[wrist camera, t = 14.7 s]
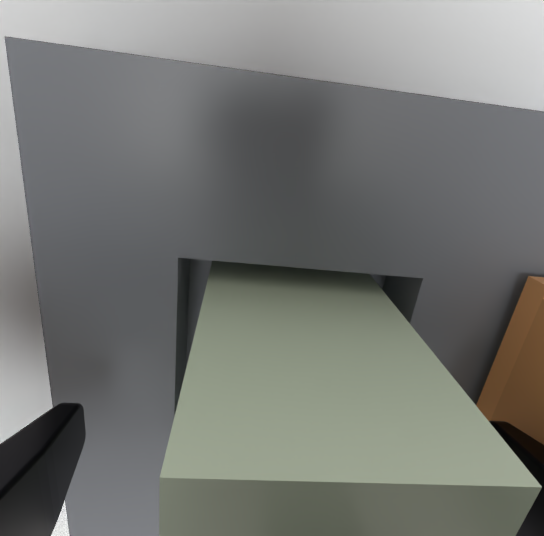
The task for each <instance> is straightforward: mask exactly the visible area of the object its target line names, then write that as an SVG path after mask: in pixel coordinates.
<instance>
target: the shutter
mask: <svg viewBox="0 0 544 536" xmlns="http://www.w3.org/2000/svg"><path fill="white" fill-rule="evenodd" d="M476 406H477V407H478V409H479V410H480V411H481V412H482V414H483V415H484V416H485V417H486V418H487V420H488V421H505V422H508V423H510V424H511V425H513V426H515V427H516V428H518V429H519V430H521V431H523V432H524V433H526V434H527V435H529V436H531V437H532V438H534V439H535V440H537V441H538V442H540V443H542V444H543V445H544V277H534V276H528V278H527V281H526V283H525V286H524V288H523V291H522V293H521V296H520V298H519V301H518V303H517V305H516V308H515V310H514V313H513V315H512V318H511V320H510V323H509V325H508V328H507V330H506V333H505V335H504V338H503V340H502V343H501V345H500V347H499V350H498V352H497V355H496V357H495V360H494V362H493V365H492V367H491V370H490V372H489V375H488V377H487V380H486V382H485V385H484V387H483V390H482V392H481V394H480V397H479V399H478V402H477V404H476Z"/></svg>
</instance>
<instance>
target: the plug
mask: <svg viewBox="0 0 544 536" xmlns="http://www.w3.org/2000/svg"><path fill="white" fill-rule="evenodd" d="M541 488H542V486H541V485H540V484H539V483H538V482H537V480H536V479H535V478H534V477H533V475H532V474H531V473H530V472H529V470H528V469H527V468H526V467H525V465H524V464H523V463H522V462H521V461H520V459H519V458H518V457H517V456H516V454H515V453H514V452H513V451H512V449H511V448H510V447H509V446H508V444H507V443H506V442H505V441H504V439H503V438H502V437H501V436H500V435H499V433H498V432H497V431H496V430H495V428H494V427H493V426H492V425H491V423H490V422H489V421H488V420H487V418H486V417H485V416H484V415H483V414H482V412H481V411H480V410H479V409H478V407H477V406H476V405H475V404H474V402H473V401H472V400H471V399H470V397H469V396H468V395H467V394H466V393H465V391H464V390H463V389H462V388H461V386H460V385H459V384H458V383H457V381H456V380H455V379H454V378H453V376H452V375H451V374H450V373H449V372H448V370H447V369H446V368H445V367H444V365H443V364H442V363H441V362H440V360H439V359H438V358H437V357H436V355H435V354H434V353H433V352H432V351H431V349H430V348H429V347H428V346H427V344H426V343H425V342H424V341H423V339H422V338H421V337H420V336H419V334H418V333H417V332H416V331H415V330H414V328H413V327H412V326H411V325H410V323H409V322H408V321H407V320H406V318H405V317H404V316H403V315H402V313H401V312H400V311H399V310H398V309H397V307H396V306H395V305H394V304H393V302H392V301H391V300H390V299H389V297H388V296H387V295H386V294H385V292H384V291H383V290H382V289H381V288H380V286H379V285H378V284H377V283H376V281H375V280H374V279H373V278H372V276H371V275H370V274H366V273H354V272H342V271H330V270H318V269H306V268H295V267H283V266H271V265H259V264H247V263H236V262H224V261H212V264H211V268H210V272H209V277H208V281H207V285H206V289H205V293H204V297H203V301H202V305H201V309H200V314H199V318H198V322H197V326H196V330H195V334H194V338H193V342H192V346H191V351H190V355H189V359H188V363H187V367H186V371H185V375H184V379H183V383H182V388H181V392H180V396H179V400H178V404H177V408H176V412H175V416H174V420H173V425H172V429H171V433H170V437H169V441H168V445H167V449H166V453H165V457H164V462H163V466H162V470H161V474H160V485H159V536H516V534H517V532H518V530H519V529H520V527H521V525H522V523H523V521H524V519H525V518H526V516H527V514H528V512H529V510H530V508H531V507H532V505H533V503H534V501H535V499H536V497H537V496H538V494H539V492H540V490H541Z"/></svg>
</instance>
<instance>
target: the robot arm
mask: <svg viewBox="0 0 544 536" xmlns="http://www.w3.org/2000/svg"><path fill="white" fill-rule="evenodd" d="M489 422H490V423H491V425H492V426H493V427H494V428H495V430H496V431H497V432H498V433H499V435H500V436H501V437H502V438H503V439H504V441H505V442H506V443H507V444H508V446H509V447H510V448H511V449H512V451H513V452H514V453H515V454H516V456H517V457H518V458H519V459H520V461H521V462H522V463H523V464H524V465H525V467H526V468H527V469H528V470H529V472H530V473H531V474H532V475H533V477H534V478H535V479H536V480H537V482H538V483H539V484H540V485H541V486H542V488H541V490H540V492H539V494H538V496H537V497H536V499H535V501H534V503H533V505H532V507H531V508H530V510H529V512H528V514H527V516H526V518H525V519H524V521H523V523H522V525H521V527H520V529H519V530H518V532H517V534H516V536H544V445H543V444H542V443H540V442H538V441H537V440H535V439H534V438H532V437H531V436H529V435H527V434H526V433H524V432H523V431H521V430H519V429H518V428H516V427H515V426H513V425H511V424H510V423H508V422H505V421H489ZM85 438H86V429H85V418H84V409H83V406H82V404H80V403H65V402H64V403H60V404H58V405H56V406H55V407H53V408H52V409H50V410H49V411H47V412H46V413H45V414H43V415H42V416H40V417H39V418H37V419H36V420H34V421H33V422H32V423H30V424H29V425H27V426H26V427H24V428H23V429H21V430H20V431H19V432H17V433H16V434H14V435H13V436H11V437H10V438H8V439H7V440H6V441H4V442H3V443H1V444H0V536H51V534H52V532H53V529H54V527H55V525H56V522H57V520H58V517H59V514H60V512H61V509H62V506H63V503H64V500H65V497H66V495H67V492H68V489H69V486H70V483H71V480H72V478H73V475H74V472H75V469H76V466H77V463H78V461H79V458H80V455H81V452H82V449H83V446H84V443H85Z"/></svg>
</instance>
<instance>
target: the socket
mask: <svg viewBox="0 0 544 536" xmlns="http://www.w3.org/2000/svg"><path fill="white" fill-rule="evenodd" d="M5 43H6V51H7V58H8V66H9V74H10V81H11V89H12V97H13V104H14V112H15V120H16V127H17V135H18V143H19V150H20V158H21V166H22V173H23V181H24V189H25V196H26V204H27V212H28V219H29V227H30V235H31V242H32V250H33V258H34V265H35V273H36V281H37V288H38V296H39V304H40V311H41V319H42V327H43V335H44V342H45V350H46V358H47V365H48V373H49V381H50V388H51V396H52V404H53V407H55V406H56V405H58V404H60V403H64V402H65V403H80V404H82V406H83V409H84V418H85V429H86V438H85V443H84V446H83V449H82V452H81V455H80V458H79V461H78V463H77V466H76V469H75V472H74V475H73V478H72V480H71V483H70V486H69V489H68V492H67V495H66V497H65V503H66V511H67V519H68V526H69V534H70V536H159V485H160V474H161V470H162V466H163V462H164V457H165V453H166V449H167V445H168V441H169V437H170V433H171V429H172V425H173V420H174V416H175V412H176V408H177V404H178V400H179V396H180V392H181V388H182V383H183V379H184V375H185V371H186V367H187V363H188V359H189V355H190V351H191V346H192V342H193V338H194V334H195V330H196V326H197V322H198V318H199V314H200V309H201V305H202V301H203V297H204V293H205V289H206V285H207V281H208V277H209V272H210V268H211V264H212V261H224V262H236V263H247V264H259V265H271V266H283V267H295V268H306V269H318V270H330V271H342V272H354V273H366V274H370V275H371V276H372V278H373V279H374V280H375V281H376V283H377V284H378V285H379V286H380V288H381V289H382V290H383V291H384V292H385V294H386V295H387V296H388V297H389V299H390V300H391V301H392V302H393V304H394V305H395V306H396V307H397V309H398V310H399V311H400V312H401V313H402V315H403V316H404V317H405V318H406V320H407V321H408V322H409V323H410V325H411V326H412V327H413V328H414V330H415V331H416V332H417V333H418V334H419V336H420V337H421V338H422V339H423V341H424V342H425V343H426V344H427V346H428V347H429V348H430V349H431V351H432V352H433V353H434V354H435V355H436V357H437V358H438V359H439V360H440V362H441V363H442V364H443V365H444V367H445V368H446V369H447V370H448V372H449V373H450V374H451V375H452V376H453V378H454V379H455V380H456V381H457V383H458V384H459V385H460V386H461V388H462V389H463V390H464V391H465V393H466V394H467V395H468V396H469V397H470V399H471V400H472V401H473V402H474V404H475V405H476V404H477V402H478V399H479V397H480V394H481V392H482V390H483V387H484V385H485V382H486V380H487V377H488V375H489V372H490V370H491V367H492V365H493V362H494V360H495V357H496V355H497V352H498V350H499V347H500V345H501V343H502V340H503V338H504V335H505V333H506V330H507V328H508V325H509V323H510V320H511V318H512V315H513V313H514V310H515V308H516V305H517V303H518V301H519V298H520V296H521V293H522V291H523V288H524V286H525V283H526V281H527V278H528V276H534V277H544V112H542V111H535V110H528V109H521V108H514V107H507V106H499V105H492V104H485V103H478V102H471V101H464V100H457V99H449V98H442V97H435V96H428V95H421V94H414V93H406V92H399V91H392V90H385V89H378V88H371V87H363V86H356V85H349V84H342V83H335V82H328V81H320V80H313V79H306V78H299V77H292V76H285V75H277V74H270V73H263V72H256V71H249V70H242V69H234V68H227V67H220V66H213V65H206V64H199V63H191V62H184V61H177V60H170V59H163V58H156V57H149V56H141V55H134V54H127V53H120V52H113V51H106V50H98V49H91V48H84V47H77V46H70V45H63V44H55V43H48V42H41V41H34V40H27V39H20V38H12V37H5Z"/></svg>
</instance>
